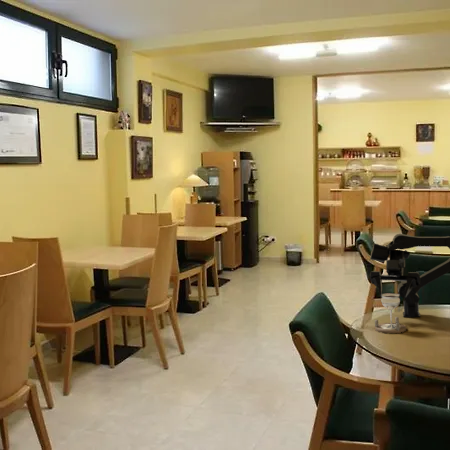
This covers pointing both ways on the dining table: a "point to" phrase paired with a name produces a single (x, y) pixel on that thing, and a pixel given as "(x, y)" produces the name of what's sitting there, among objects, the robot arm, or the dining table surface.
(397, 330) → the glass stand
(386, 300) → the wineglass
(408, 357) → the dining table surface
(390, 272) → the robot arm
